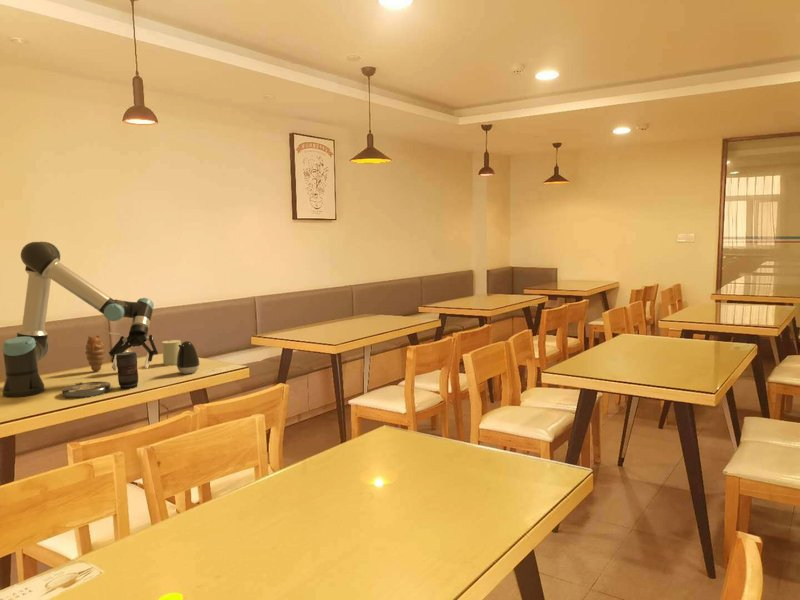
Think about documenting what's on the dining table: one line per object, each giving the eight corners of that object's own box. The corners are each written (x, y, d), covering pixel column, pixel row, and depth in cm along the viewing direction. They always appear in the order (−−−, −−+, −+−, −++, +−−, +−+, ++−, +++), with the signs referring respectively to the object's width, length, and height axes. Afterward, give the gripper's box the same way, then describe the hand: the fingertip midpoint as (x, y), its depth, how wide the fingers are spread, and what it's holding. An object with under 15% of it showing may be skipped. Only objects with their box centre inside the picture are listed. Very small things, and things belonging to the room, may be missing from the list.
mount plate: (58, 400, 238) (57, 393, 237) (67, 390, 255) (66, 383, 254) (107, 395, 243) (106, 388, 243) (113, 385, 260) (112, 378, 260)
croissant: (92, 374, 285) (89, 337, 283) (83, 372, 289) (80, 336, 287) (109, 370, 292) (106, 334, 290) (100, 369, 296) (97, 333, 294)
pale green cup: (178, 360, 310) (177, 338, 308) (185, 363, 303) (183, 340, 301) (160, 363, 304) (159, 340, 303) (166, 366, 297) (165, 342, 296)
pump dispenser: (172, 374, 277) (169, 342, 275) (186, 369, 287) (184, 339, 285) (190, 375, 274) (187, 343, 272) (204, 370, 284) (202, 339, 282)
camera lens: (142, 384, 259) (140, 351, 258) (132, 389, 251) (129, 355, 250) (125, 385, 260) (122, 351, 259) (114, 389, 252) (111, 355, 251)
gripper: (169, 331, 272) (161, 371, 259) (114, 334, 271) (103, 374, 258) (165, 322, 267) (156, 361, 253) (108, 324, 265) (96, 364, 252)
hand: (129, 368), depth 255 cm, fingers open, 13 cm apart
